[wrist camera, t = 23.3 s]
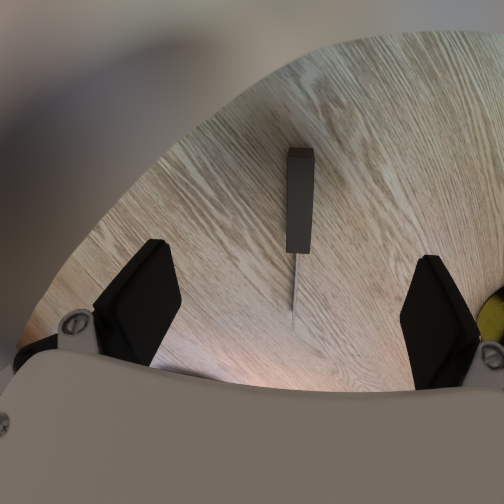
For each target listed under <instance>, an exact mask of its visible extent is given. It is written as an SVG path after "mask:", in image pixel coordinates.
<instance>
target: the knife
mask: <svg viewBox="0 0 504 504" xmlns="http://www.w3.org/2000/svg"><path fill="white" fill-rule="evenodd" d="M314 163H315V157H314V151H313V148H290V149H289V152H288V156H287V232H286V253H296V269H295V287H294V302H293V316H292V329H291V331H294V325H295V314H296V301H297V288H298V273H299V256H300V253H301V254H309V253H310V243H311V228H312V211H313V191H314Z"/></svg>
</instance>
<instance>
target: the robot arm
mask: <svg viewBox="0 0 504 504" xmlns="http://www.w3.org/2000/svg"><path fill="white" fill-rule="evenodd" d="M181 301H182V299H181V294H180V290H179V286H178V281H177V277H176V273H175V268H174V264H173V259H172V255H171V250H170V246H169V244H167V243H166V242H165V241H164V240H162V239H149V240H148V241H147V242H146V243H145V244H144V245H143V246H142V247H141V249H140V250H139V251H138V252H137V253H136V254H135V255H134V256H133V258H132V259H131V260H130V261H129V262H128V263H127V264H126V265H125V267H124V268H123V269H122V270H121V271H120V272H119V274H118V275H117V276H116V277H115V278H114V279H113V281H112V282H111V283H110V284H109V285H108V287H107V288H106V289H105V290H104V291H103V293H102V294H101V295H100V296H99V297H98V299H97V300H96V301H95V302H94V304H93V307H94V309H95V310H94V311H93V312H92V313H91V312H90V311H89V310H86V309H77V310H74V311H72V312H69V313H68V314H67V315H65V316H64V317H63V318H62V320H61V321H60V323H59V325H58V333H57V334H54V335H52V336H49V337H47V338H44V339H42V340H39V341H37V342H34V343H32V344H29V345H27V346H25V347H23V348H21V349H20V350H19V351H18V353H17V354H16V356H15V359H14V363H13V364H14V365H12V364H11V363H10V364H8V365H7V366H6V367H4V368H3V369H1V370H0V504H504V347H503V346H502V345H501V344H499V343H498V342H496V341H493V340H484V341H482V342H481V341H480V339H479V336H480V335H481V333H480V331H479V329H478V327H477V325H476V322H475V320H474V318H473V316H472V314H471V312H470V310H469V308H468V306H467V304H466V302H465V300H464V299H463V297H462V295H461V293H460V291H459V289H458V288H457V286H456V284H455V282H454V280H453V279H452V277H451V275H450V273H449V272H448V270H447V268H446V267H445V265H444V263H443V262H442V260H441V259H440V257H439V256H437V255H424V256H423V257H422V258H420V259H419V260H418V262H417V265H416V269H415V272H414V275H413V278H412V281H411V284H410V287H409V290H408V293H407V296H406V299H405V302H404V305H403V307H402V310H401V313H400V324H401V328H402V332H403V335H404V339H405V343H406V348H407V352H408V356H409V360H410V365H411V370H412V374H413V379H414V384H415V390H413V391H394V392H321V391H302V390H289V389H277V388H267V387H258V386H250V385H242V384H235V383H228V382H222V381H216V380H210V379H204V378H198V377H193V376H188V375H183V374H178V373H173V372H169V371H164V370H160V369H156V368H152V367H149V366H150V364H151V362H152V360H153V358H154V356H155V354H156V352H157V350H158V348H159V346H160V344H161V342H162V340H163V338H164V336H165V334H166V333H167V331H168V329H169V327H170V325H171V323H172V321H173V319H174V317H175V315H176V314H177V312H178V310H179V308H180V306H181Z"/></svg>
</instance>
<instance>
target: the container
mask: <svg viewBox="0 0 504 504" xmlns="http://www.w3.org/2000/svg"><path fill="white" fill-rule="evenodd" d="M477 327H478V329H479V331H480V333H481V335H480V336H481V337H480V338H481V342H482V341H484V340H493V341H496V342H498V343H499V344H501V345H502V346H503V347H504V287H503V288H502V289H500V290H498V291H497V292H496V293H495V294H494V295H493V296H492V297H491V298H490V299H489V300H488V301H487V302H486V303H485V305H484V306H483V308H482V310H481V312H480V313H479V316H478V319H477Z"/></svg>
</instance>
